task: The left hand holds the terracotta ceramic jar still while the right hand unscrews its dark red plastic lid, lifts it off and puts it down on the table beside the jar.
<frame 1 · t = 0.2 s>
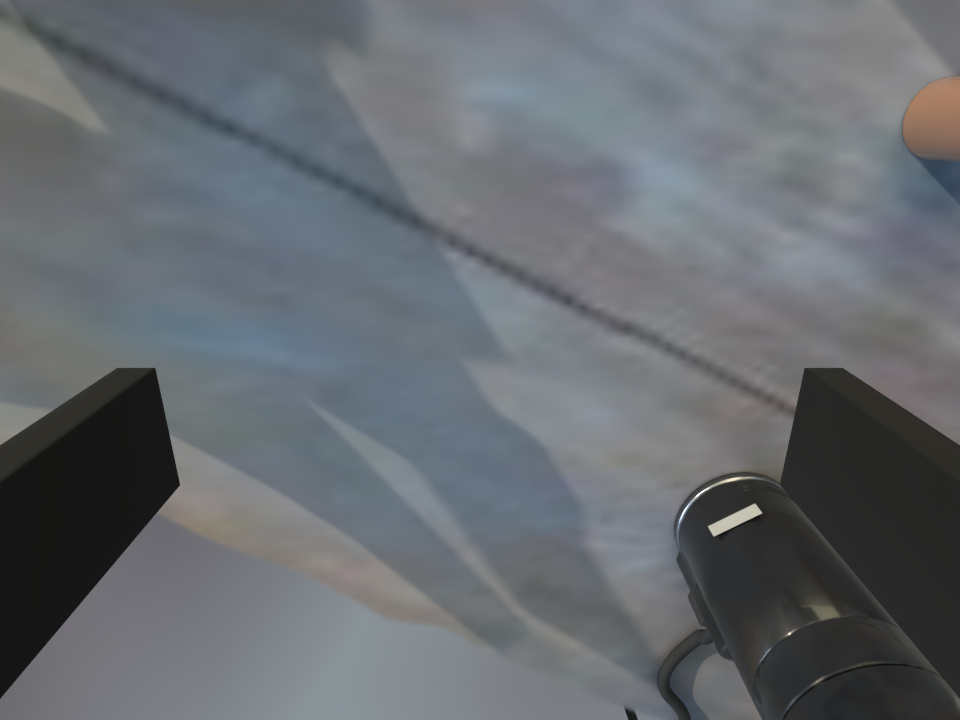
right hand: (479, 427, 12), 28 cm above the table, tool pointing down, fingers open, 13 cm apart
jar: (941, 119, 36), on the table
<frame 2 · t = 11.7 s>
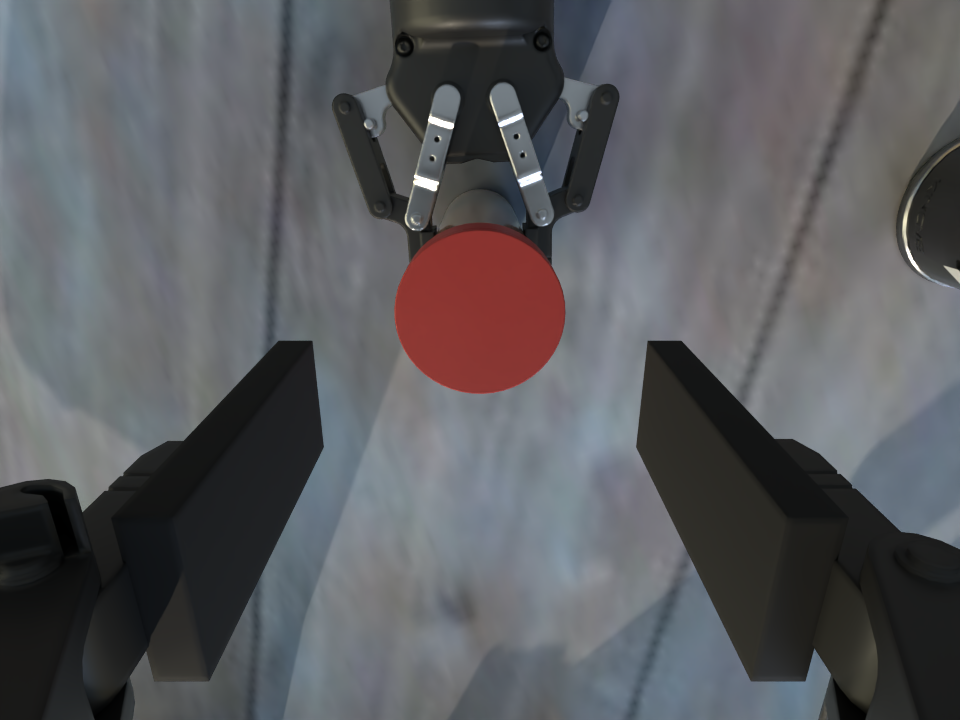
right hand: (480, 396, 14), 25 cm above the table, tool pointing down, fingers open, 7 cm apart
left hand: (482, 294, 33), fingers closed on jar, 4 cm apart
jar: (480, 227, 37), on the table, touching left hand
lid: (479, 313, 20), point 18 cm above the table, screwed on, not yet turned
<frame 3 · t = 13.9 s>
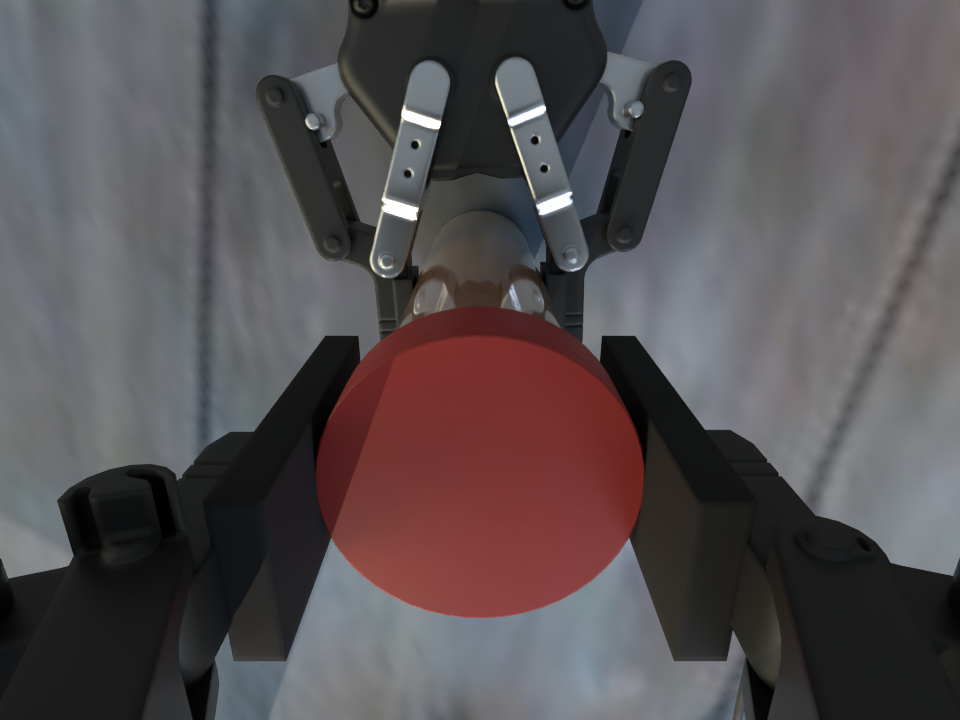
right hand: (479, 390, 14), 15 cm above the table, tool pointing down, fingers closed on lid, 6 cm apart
left hand: (483, 362, 23), fingers closed on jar, 4 cm apart
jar: (480, 261, 28), on the table, touching left hand
lid: (480, 479, 11), point 18 cm above the table, screwed on, not yet turned, touching right hand
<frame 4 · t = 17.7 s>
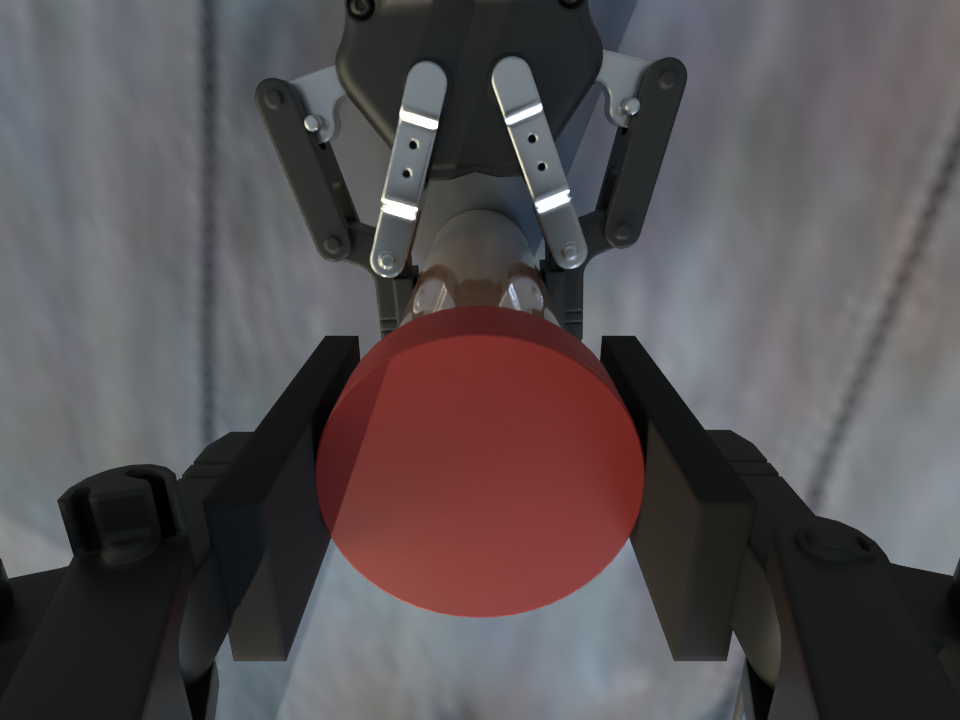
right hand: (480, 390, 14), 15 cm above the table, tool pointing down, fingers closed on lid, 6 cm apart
left hand: (484, 360, 23), fingers closed on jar, 4 cm apart
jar: (480, 260, 28), on the table, touching left hand
lid: (480, 479, 11), point 19 cm above the table, turned 138° so far, risen 0.2 cm, still on its thread, touching right hand
when the right hand's fingers open (0 cm above the table, at t = 31.8 s): lid drops 3 cm, point 1 cm above the table.
when the left hand's fingers open (6 cm above the table, at t = 32.4 s): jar stays where it is, on the table.
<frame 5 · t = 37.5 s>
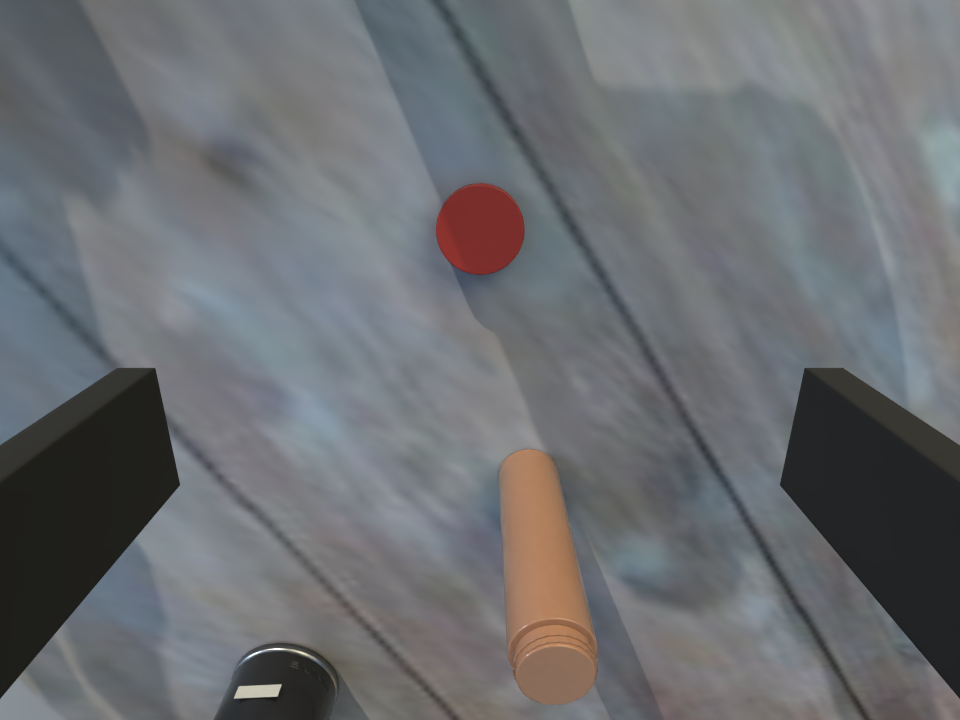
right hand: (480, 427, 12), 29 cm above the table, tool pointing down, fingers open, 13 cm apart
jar: (528, 475, 47), on the table
lid: (480, 230, 39), point 1 cm above the table, off its thread
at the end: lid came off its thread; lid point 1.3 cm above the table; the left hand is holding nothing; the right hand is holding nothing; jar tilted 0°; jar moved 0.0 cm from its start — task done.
